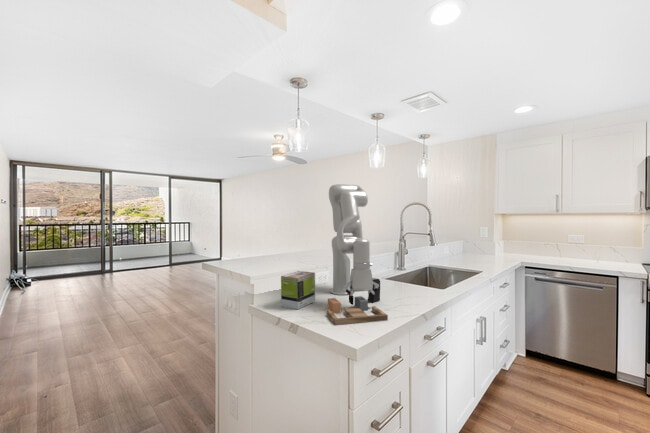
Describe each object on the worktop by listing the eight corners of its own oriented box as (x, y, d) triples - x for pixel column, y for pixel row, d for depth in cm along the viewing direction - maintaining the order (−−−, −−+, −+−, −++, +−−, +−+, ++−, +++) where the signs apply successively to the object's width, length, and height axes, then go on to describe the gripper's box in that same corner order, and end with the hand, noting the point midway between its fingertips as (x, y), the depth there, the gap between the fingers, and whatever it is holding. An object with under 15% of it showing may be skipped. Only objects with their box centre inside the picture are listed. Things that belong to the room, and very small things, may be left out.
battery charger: (375, 299, 153) (375, 276, 153) (380, 300, 150) (380, 278, 150) (365, 301, 149) (365, 278, 149) (370, 303, 146) (370, 279, 146)
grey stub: (354, 306, 142) (354, 296, 142) (361, 305, 143) (361, 296, 143) (360, 311, 134) (360, 301, 134) (367, 310, 135) (367, 300, 135)
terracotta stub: (327, 308, 139) (327, 298, 138) (334, 307, 140) (335, 298, 139) (333, 313, 131) (333, 303, 131) (340, 313, 132) (340, 302, 132)
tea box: (299, 298, 153) (299, 270, 153) (315, 301, 148) (315, 272, 148) (280, 306, 140) (280, 275, 140) (297, 310, 135) (297, 277, 135)
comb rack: (326, 314, 129) (326, 310, 129) (374, 310, 135) (374, 306, 135) (335, 325, 117) (335, 319, 117) (387, 320, 123) (387, 315, 123)
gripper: (375, 264, 144) (375, 299, 144) (341, 265, 140) (341, 302, 139) (382, 266, 137) (382, 304, 137) (346, 268, 132) (346, 306, 132)
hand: (361, 303), depth 138 cm, fingers open, 9 cm apart
